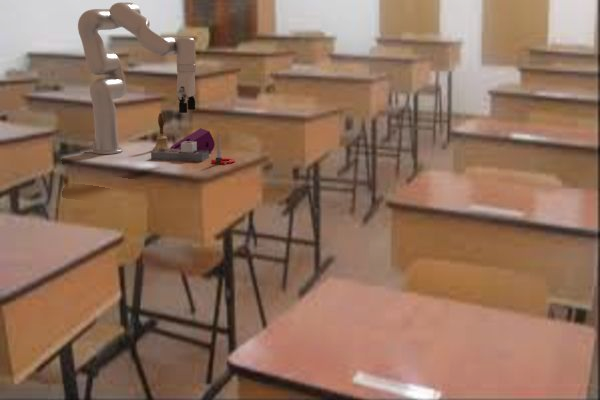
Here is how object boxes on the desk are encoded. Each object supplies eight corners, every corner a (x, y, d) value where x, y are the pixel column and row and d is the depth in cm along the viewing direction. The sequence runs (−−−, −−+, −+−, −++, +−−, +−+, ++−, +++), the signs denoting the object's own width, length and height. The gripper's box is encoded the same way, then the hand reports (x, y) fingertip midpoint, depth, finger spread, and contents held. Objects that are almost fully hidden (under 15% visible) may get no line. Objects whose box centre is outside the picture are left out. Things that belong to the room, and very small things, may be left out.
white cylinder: (181, 159, 309) (180, 143, 307) (185, 157, 314) (185, 141, 312) (192, 160, 308) (192, 143, 306) (197, 158, 313) (196, 141, 311)
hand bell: (149, 150, 329) (147, 114, 325) (158, 147, 337) (156, 111, 333) (166, 151, 327) (165, 115, 323) (175, 148, 334) (173, 112, 330)
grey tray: (151, 159, 310) (150, 152, 309) (159, 155, 318) (159, 148, 317) (202, 161, 305) (201, 154, 305) (209, 157, 314) (208, 150, 313)
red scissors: (222, 160, 311) (209, 163, 303) (222, 129, 308) (209, 131, 300) (239, 162, 307) (226, 165, 299) (239, 131, 304) (226, 133, 296)
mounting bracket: (183, 169, 320) (217, 147, 326) (174, 152, 316) (209, 131, 322) (175, 165, 328) (208, 144, 334) (166, 148, 324) (200, 128, 330)
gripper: (184, 66, 311) (186, 108, 315) (169, 70, 294) (171, 113, 299) (202, 67, 309) (203, 108, 313) (187, 70, 293) (188, 114, 297)
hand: (187, 111), depth 306 cm, fingers open, 9 cm apart
